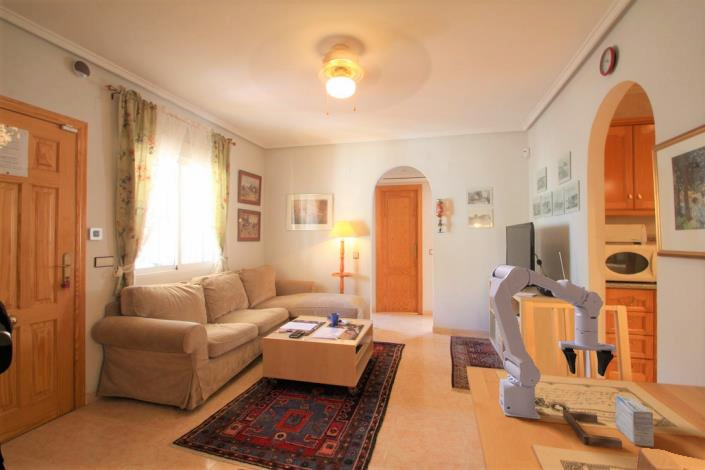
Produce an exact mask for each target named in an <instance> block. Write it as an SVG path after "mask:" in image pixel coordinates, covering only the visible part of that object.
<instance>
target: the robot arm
mask: <svg viewBox="0 0 705 470" xmlns="http://www.w3.org/2000/svg"><path fill="white" fill-rule="evenodd" d="M489 277H490V279H491V282H490V288H489V294H488V295H489V301H490V302H491V306H492V310H493V313H494V316H495V319H496V322H497V326H498V329H499V332H500V333H499V334H500V336H501V340H502V341H503V342H502V343H503V346H504V348H505V350H504V351H503V352H502V355H503V362H502V363H503V364H502V365H503V366H502V367H503V368H504V370H505V371H506V372H507V374H506V375H507V378H500V379H499V385H498V387H499V390H498V391H499V400H498V402H499V405H500V407H501V409H502V411H503V415H505V416H508V417H515V418H516V417H517V418H526V419H533V420H541V416H540V415H539V413H538V411H537V409H536V387H537V384H539V382H540V380H541V378H542V375H541V371H540V369H539V368H538V366H536V365H535V363H534V360H533V358H532V356H531V355H530V354H529V352H528V351H527V350H526V346H525V343H524V341H523V338H522V334H521V330H520V327H519V324H518V321H517V318H516V313H515V311H514V307H513V304H512V302H511V300H512V299H513V297H514V296H516V294H518V293H519V292H520V291H521V290H523V289H524V288H525V287H526V286H527V285H528V286H531V285H536V286H538V287H541V288H543V289H545V290H548V291H551V294H552V295H553V297H555V298H557V299H559V300H562V301H564V302H567V303H569V304H570V305H572V306H573V307H574V340H568V341H567V340H564V341H563V340H559V341H558V348H559V349H560V350H561V351H562V353H563V354H564V358H565V359H566V361H567V365H568V368H569V372H570V373H571V374H573V375H576V371H577V370H576V369H577V368H576V361H577V356H578V354H577V353H576V352H575V350H578V351H592V352H593V351H594V352H595V353H596V361H597V374H598V375H599V376H601V377H605V375H606V371H607V369H608V367H609V364H610V363H611V361H612V360H613V359H614V358H615V356H614V353H615V354H616V353H617V352H616V351H617V350H616V348H617V347H616V345H614V344H611V343H602V342H599V315H600V310H601V309H602V307H603V306H604V301H603V300H602V297H601V295H599V293H598V292H595V291H593V290H592V291H591V290H588V289H586V287H584V286H582V285H576V284H574V283H572V280H570V279H558V280H556V281H555V280H554V279H552V278H550V277H547V276H545V275H543V274H541V273H539V272H538V271H537V272H536V271H535V270H532V269H529V268H524V267H522V266H514V265H507V264H505V263H500V264H498V265H496V266H495V267H494V269H493V270H492V271H491V273H490V276H489Z"/></svg>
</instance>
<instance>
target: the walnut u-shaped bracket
mask: <svg viewBox="0 0 705 470" xmlns="http://www.w3.org/2000/svg"><path fill="white" fill-rule="evenodd" d="M562 417H563V419H564V421H566V423H567V425H568V426H569V427H570V428H571V429H572V430H573V432H574V433H575V434H576V436H577V437H578V438H579V440H580V441H581V443H582V444H583V445H584V446H585V445H587V446H593V447H594V446H595V447H601V448H602V447H603V448H610V449H618V450H622V449H623V440H621V438H620V437H613V436H606V435H598V434H597V435H596V434H588V433H587V432H586V431H585V430H584V428H582V426H581V425H580V424H579V422H587V423H596V424H597V423H598V415H597V413H595V412H586V411H578V410H568V409H563V410H562ZM578 421H579V422H578Z"/></svg>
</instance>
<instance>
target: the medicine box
mask: <svg viewBox="0 0 705 470" xmlns="http://www.w3.org/2000/svg"><path fill="white" fill-rule="evenodd" d="M614 410H615V411H614V414H615V418H614V419H615V421H614V422H615V428H617V429H618V430H619V432H621V433H622V435H624V436H625V437H626V438H627V440H629V441H630V442H631V443H632V444H633V445H634V446H641V447H642V446H643V447H650V448H654V447H655V437H654V436H655V435H654V434H655V433H654V413H653V412H652V411H651V410H650V409H648V407H646V406H644V405H643V404H642V403H641V402H639V401H638V400H637V399H635V398H634V397H629V396H623V395H622V396H620V395H619V396H616V395H615V397H614Z"/></svg>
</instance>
